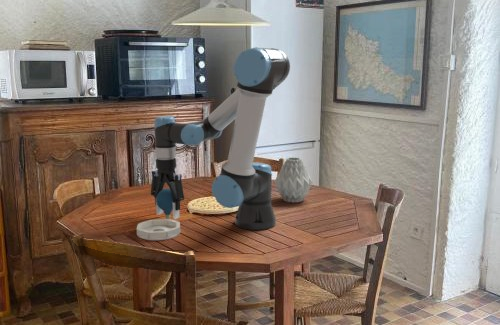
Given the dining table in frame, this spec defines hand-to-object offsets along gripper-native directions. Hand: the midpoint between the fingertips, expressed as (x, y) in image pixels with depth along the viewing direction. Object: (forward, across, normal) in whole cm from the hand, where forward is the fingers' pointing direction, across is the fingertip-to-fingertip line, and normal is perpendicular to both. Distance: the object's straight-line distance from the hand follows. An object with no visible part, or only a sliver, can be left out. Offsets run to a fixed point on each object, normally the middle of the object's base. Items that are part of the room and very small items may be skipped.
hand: (167, 215), depth 195 cm
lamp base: (+1, -9, +13) cm, 16 cm away
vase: (+2, -24, -52) cm, 57 cm away
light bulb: (+2, 0, 0) cm, 2 cm away
